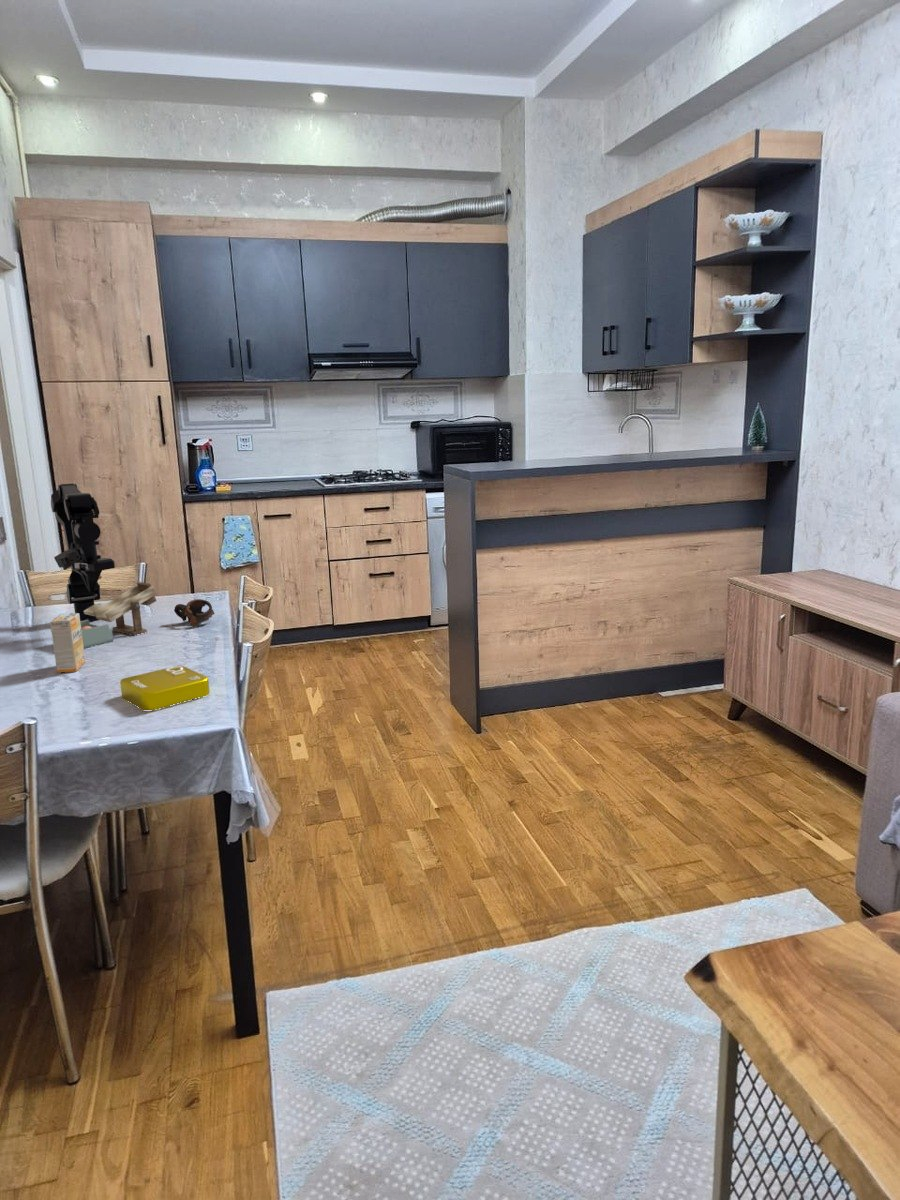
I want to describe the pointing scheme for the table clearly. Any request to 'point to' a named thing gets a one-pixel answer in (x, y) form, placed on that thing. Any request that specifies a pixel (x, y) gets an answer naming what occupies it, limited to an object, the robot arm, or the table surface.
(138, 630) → the lever stand
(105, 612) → the tipping lever
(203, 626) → the table surface
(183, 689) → the element tile
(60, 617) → the supplement box
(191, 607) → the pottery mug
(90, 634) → the bin
